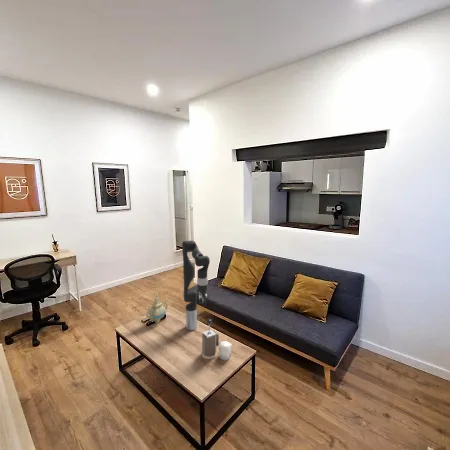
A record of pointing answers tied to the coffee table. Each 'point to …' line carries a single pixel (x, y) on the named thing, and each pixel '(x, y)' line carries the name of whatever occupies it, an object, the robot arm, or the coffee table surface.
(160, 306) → the teapot
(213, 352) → the carafe
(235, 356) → the coffee table surface
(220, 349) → the mug
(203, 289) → the robot arm
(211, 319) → the plunger
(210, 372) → the coffee table surface
